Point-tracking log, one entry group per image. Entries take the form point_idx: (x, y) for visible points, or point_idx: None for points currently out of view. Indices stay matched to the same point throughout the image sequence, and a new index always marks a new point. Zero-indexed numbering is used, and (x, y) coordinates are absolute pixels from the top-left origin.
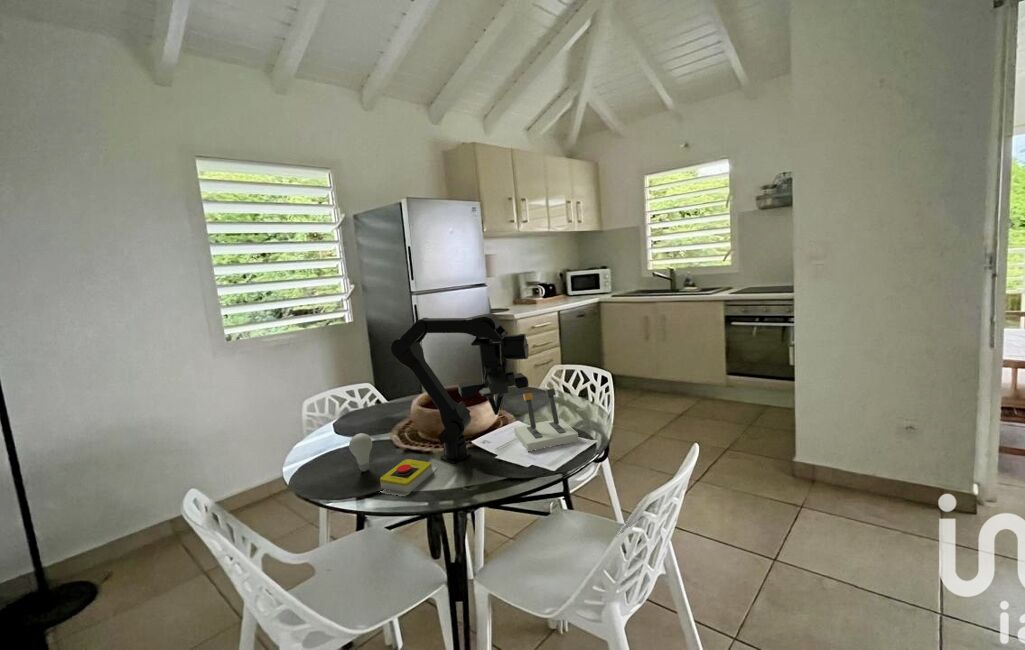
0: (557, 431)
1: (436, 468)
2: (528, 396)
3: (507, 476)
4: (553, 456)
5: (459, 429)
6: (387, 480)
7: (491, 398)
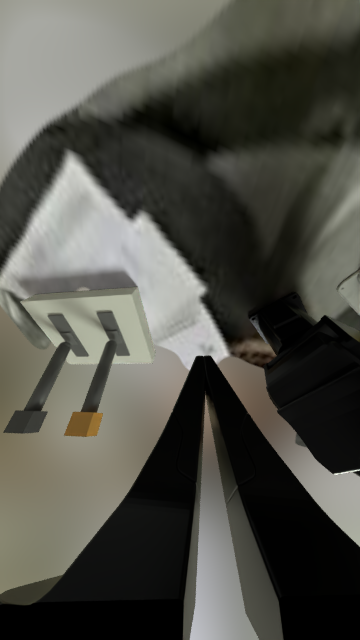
0: (66, 322)
1: (342, 285)
2: (80, 423)
3: (202, 169)
4: (81, 246)
5: (350, 338)
6: None
7: (280, 514)
